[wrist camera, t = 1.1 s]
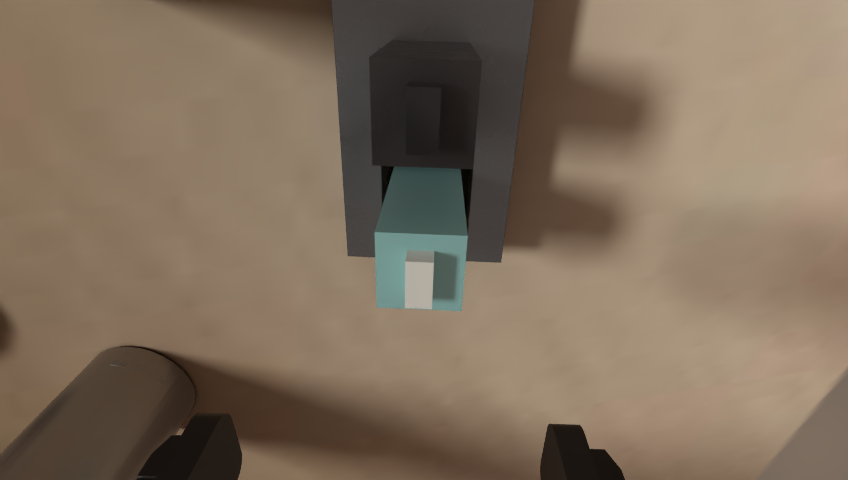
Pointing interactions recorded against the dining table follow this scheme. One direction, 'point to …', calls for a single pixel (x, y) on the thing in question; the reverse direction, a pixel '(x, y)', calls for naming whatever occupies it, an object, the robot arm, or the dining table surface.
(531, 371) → the dining table surface
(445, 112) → the gray slotted rack
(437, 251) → the plug
